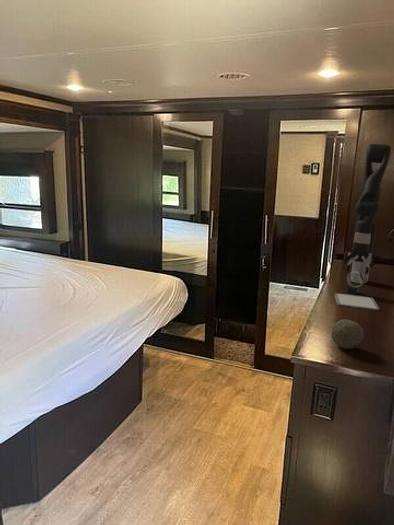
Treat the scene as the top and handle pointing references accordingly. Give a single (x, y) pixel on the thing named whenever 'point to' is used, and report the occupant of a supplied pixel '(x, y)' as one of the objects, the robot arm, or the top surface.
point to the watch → (352, 288)
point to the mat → (356, 301)
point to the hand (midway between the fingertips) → (356, 273)
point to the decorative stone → (347, 334)
